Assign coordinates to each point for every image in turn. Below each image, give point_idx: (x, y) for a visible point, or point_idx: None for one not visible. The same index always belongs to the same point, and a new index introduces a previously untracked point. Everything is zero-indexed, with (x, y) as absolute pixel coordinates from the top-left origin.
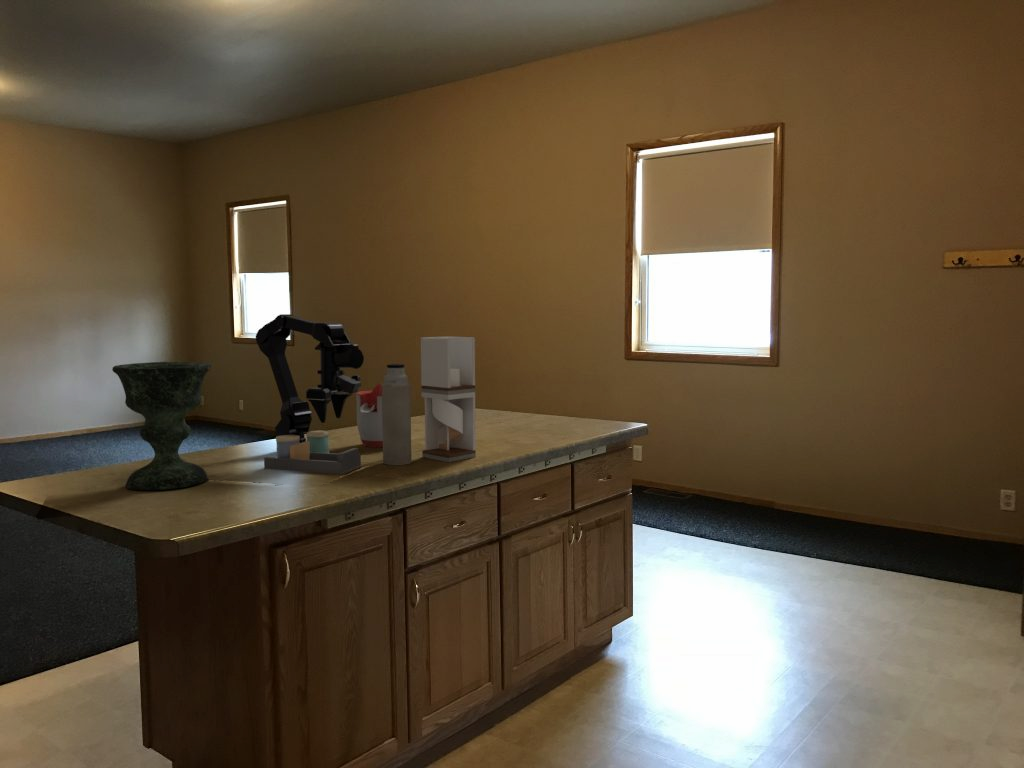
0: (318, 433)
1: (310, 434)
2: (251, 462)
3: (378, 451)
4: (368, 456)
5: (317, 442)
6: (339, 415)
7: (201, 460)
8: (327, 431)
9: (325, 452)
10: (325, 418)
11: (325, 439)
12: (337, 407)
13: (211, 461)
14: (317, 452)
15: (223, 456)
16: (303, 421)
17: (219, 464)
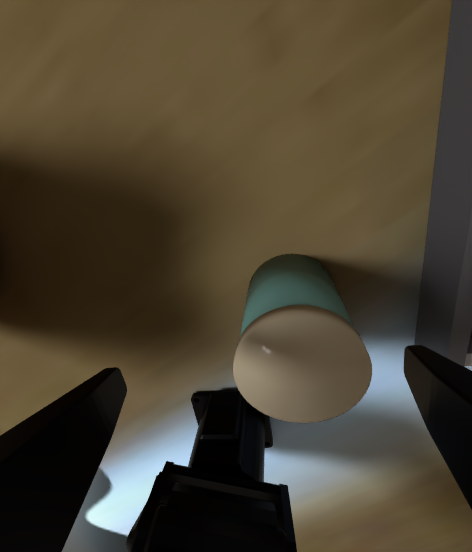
0: (344, 348)
1: (369, 378)
2: (410, 448)
3: (19, 168)
4: (132, 132)
5: (347, 315)
6: (106, 383)
7: (412, 546)
8: (250, 341)
9: (304, 268)
10: (437, 365)
11: (308, 298)
12: (60, 475)
13: (420, 527)
14: (470, 227)
15: (343, 531)
16: (221, 519)
17: (462, 498)
